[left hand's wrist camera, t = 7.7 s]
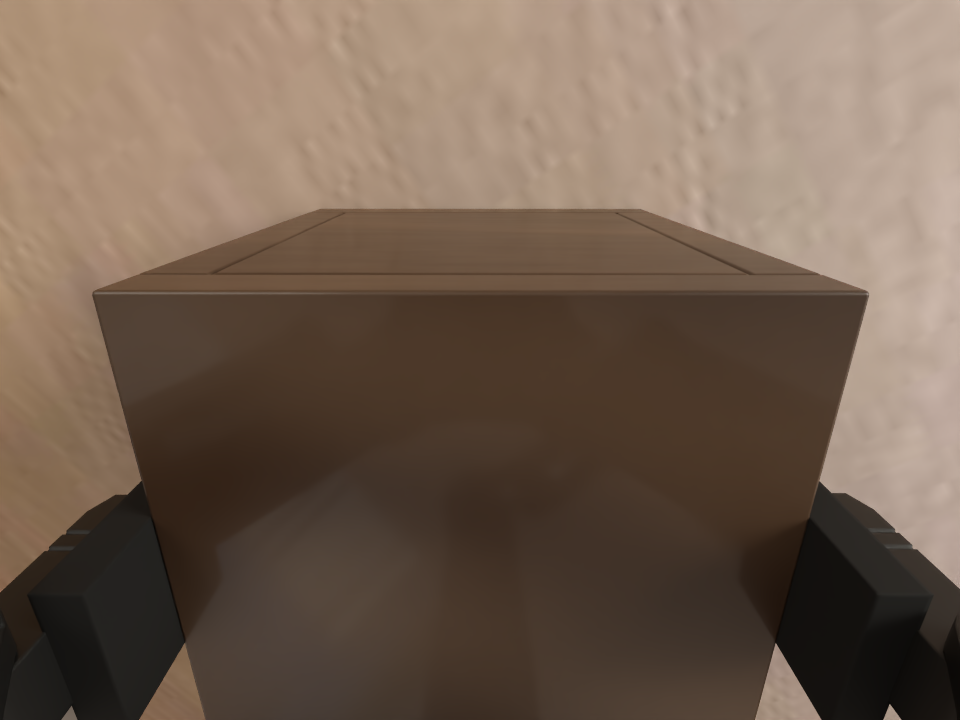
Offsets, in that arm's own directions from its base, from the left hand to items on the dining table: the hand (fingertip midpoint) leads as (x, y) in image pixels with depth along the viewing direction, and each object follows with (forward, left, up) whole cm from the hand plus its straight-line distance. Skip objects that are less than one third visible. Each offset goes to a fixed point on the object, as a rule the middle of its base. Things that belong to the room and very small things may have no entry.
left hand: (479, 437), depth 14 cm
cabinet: (+5, -1, -6) cm, 8 cm away
